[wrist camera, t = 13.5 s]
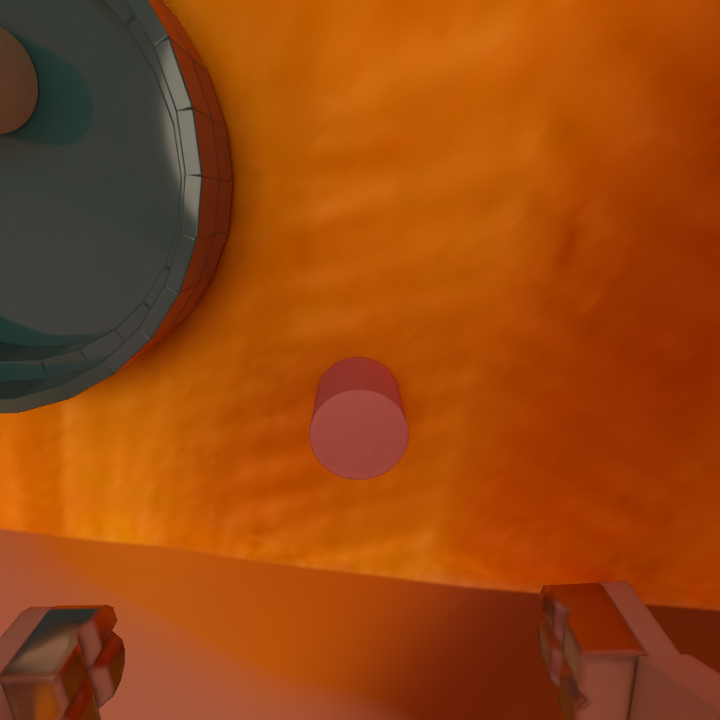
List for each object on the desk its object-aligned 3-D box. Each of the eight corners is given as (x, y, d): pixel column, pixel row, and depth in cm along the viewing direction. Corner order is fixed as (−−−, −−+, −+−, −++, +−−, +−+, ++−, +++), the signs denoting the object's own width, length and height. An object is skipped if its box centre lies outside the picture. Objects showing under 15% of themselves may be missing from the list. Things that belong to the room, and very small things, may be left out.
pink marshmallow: (398, 355, 24) (407, 387, 19) (399, 431, 25) (409, 477, 21) (314, 358, 24) (305, 392, 19) (319, 435, 25) (312, 482, 21)
